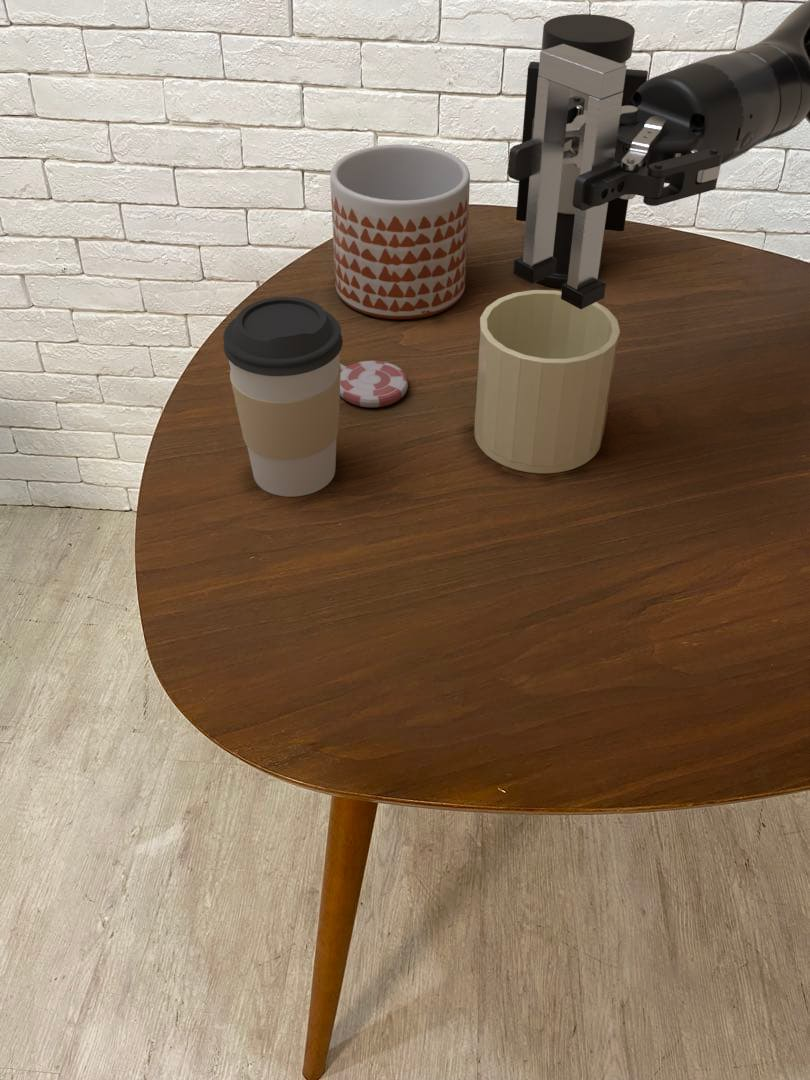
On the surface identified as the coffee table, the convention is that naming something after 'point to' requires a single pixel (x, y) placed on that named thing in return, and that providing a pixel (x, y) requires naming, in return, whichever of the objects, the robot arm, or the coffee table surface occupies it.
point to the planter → (400, 230)
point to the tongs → (602, 121)
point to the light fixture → (607, 42)
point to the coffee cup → (287, 391)
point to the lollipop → (372, 383)
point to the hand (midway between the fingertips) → (545, 179)
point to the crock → (543, 381)
